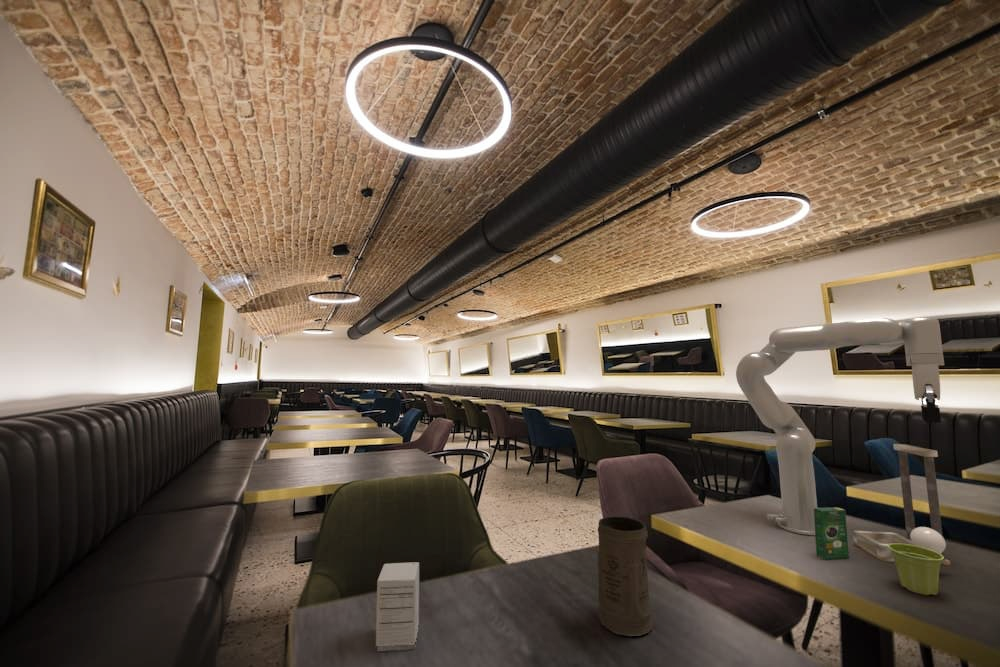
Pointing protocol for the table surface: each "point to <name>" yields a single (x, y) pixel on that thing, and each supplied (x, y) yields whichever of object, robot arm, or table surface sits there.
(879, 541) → the socket stand
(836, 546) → the coffee box
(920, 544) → the lightbulb
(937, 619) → the table surface
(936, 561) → the plant pot
